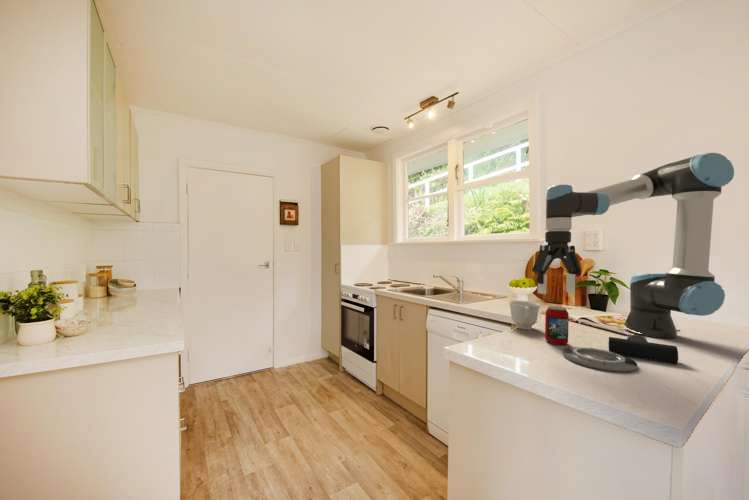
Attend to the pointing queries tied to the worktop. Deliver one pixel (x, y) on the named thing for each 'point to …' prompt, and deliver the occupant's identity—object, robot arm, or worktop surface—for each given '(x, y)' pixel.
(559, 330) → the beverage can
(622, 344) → the pipe connector
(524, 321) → the teacup
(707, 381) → the worktop surface
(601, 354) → the ring plate
